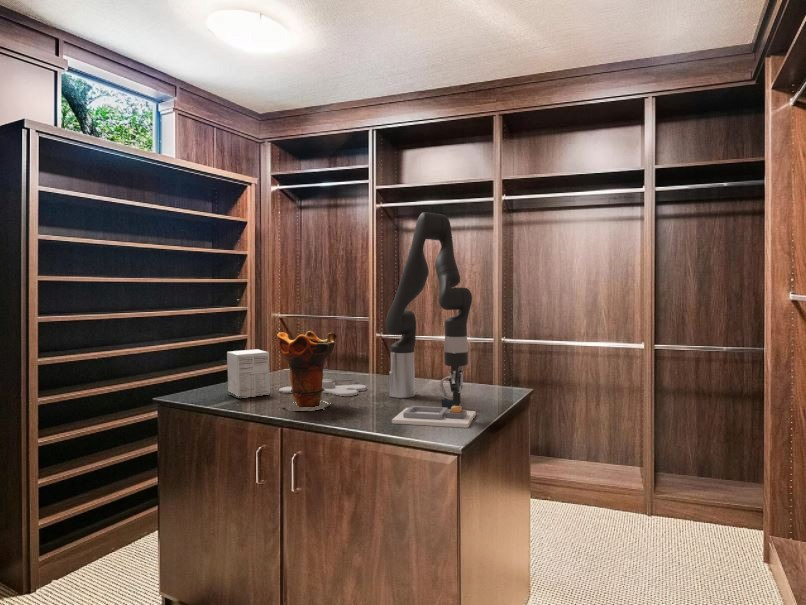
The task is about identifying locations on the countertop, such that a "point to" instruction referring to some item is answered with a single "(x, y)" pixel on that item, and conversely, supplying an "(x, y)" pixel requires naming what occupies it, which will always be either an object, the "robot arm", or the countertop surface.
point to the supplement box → (248, 372)
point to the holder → (335, 388)
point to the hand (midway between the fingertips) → (456, 404)
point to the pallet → (434, 417)
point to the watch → (448, 400)
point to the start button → (456, 409)
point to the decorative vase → (306, 365)
